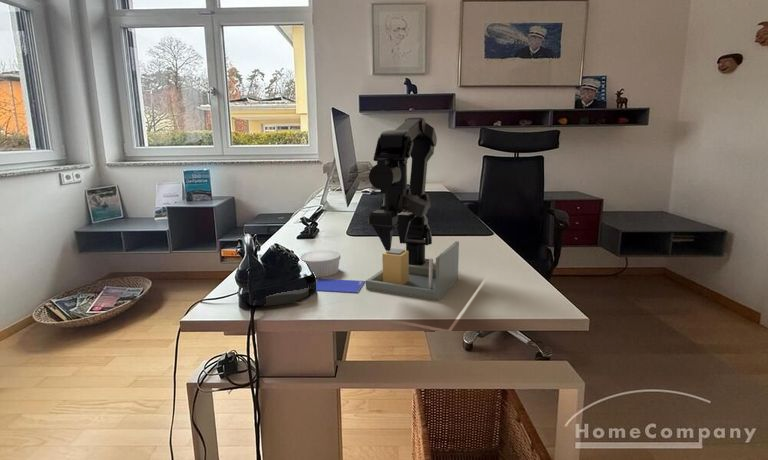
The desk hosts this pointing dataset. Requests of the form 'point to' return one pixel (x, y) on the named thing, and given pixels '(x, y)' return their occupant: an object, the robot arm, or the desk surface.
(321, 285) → the hard drive
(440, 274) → the case
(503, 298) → the desk surface
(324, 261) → the ramekin
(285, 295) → the media streaming box
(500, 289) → the desk surface
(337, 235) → the desk surface
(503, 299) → the desk surface
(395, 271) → the block
